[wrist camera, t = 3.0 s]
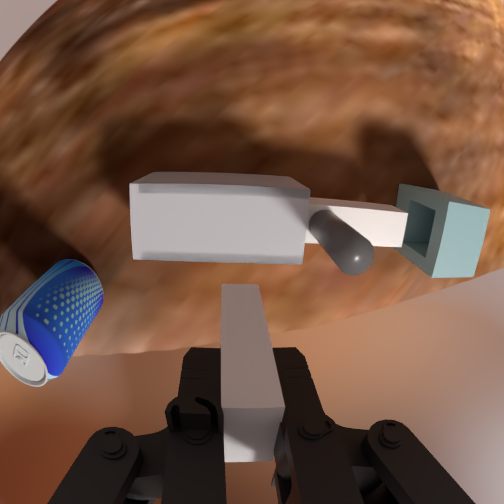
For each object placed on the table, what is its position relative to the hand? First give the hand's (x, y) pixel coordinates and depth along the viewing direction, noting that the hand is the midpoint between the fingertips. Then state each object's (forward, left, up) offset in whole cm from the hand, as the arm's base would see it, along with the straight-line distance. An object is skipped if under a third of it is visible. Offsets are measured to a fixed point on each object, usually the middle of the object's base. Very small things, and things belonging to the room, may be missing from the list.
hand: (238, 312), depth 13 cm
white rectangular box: (0, -1, -22) cm, 22 cm away
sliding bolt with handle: (0, +5, -18) cm, 19 cm away
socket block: (0, +24, -22) cm, 32 cm away
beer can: (+11, -20, -22) cm, 32 cm away
